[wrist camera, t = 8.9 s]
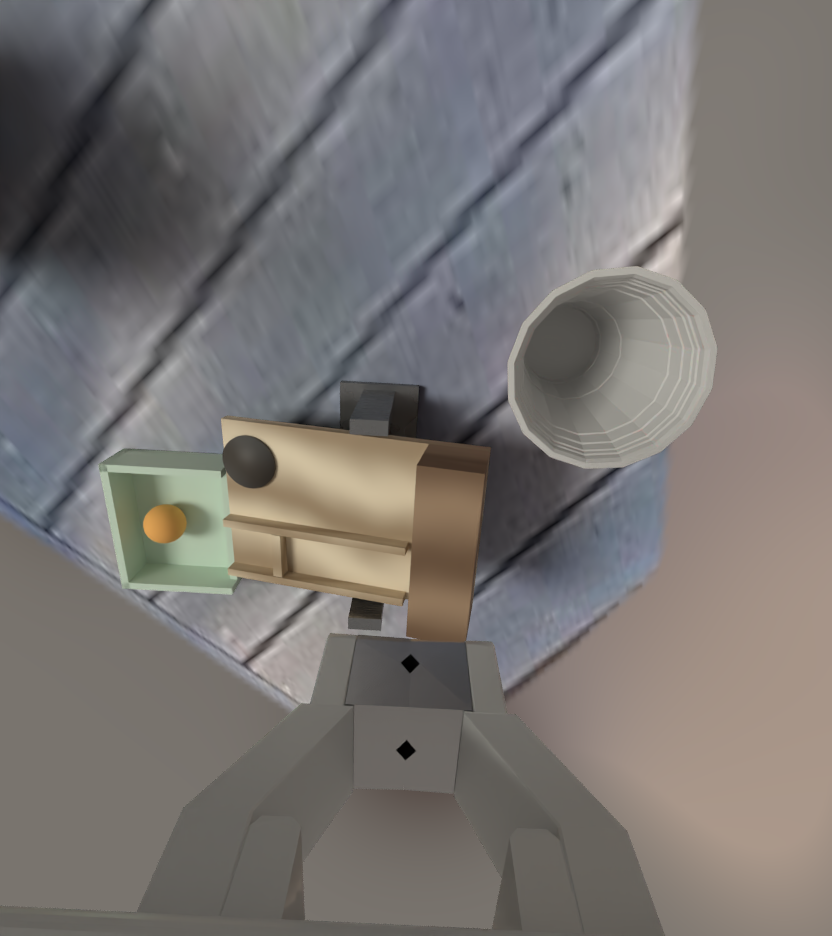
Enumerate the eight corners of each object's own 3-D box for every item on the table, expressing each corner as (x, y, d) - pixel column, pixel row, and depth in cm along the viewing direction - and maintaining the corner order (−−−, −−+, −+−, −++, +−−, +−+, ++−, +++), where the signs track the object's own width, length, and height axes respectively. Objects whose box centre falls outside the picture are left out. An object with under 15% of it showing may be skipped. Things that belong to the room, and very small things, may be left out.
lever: (227, 415, 36) (185, 435, 32) (490, 447, 33) (485, 474, 29) (240, 563, 41) (205, 598, 37) (472, 603, 38) (464, 647, 33)
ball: (152, 496, 42) (132, 514, 39) (191, 498, 42) (173, 516, 39) (157, 530, 43) (138, 549, 40) (195, 532, 43) (178, 551, 40)
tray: (123, 448, 41) (98, 464, 38) (236, 454, 41) (220, 471, 38) (144, 565, 45) (122, 588, 42) (246, 570, 45) (232, 594, 42)
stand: (341, 380, 39) (320, 410, 31) (419, 385, 39) (417, 415, 31) (341, 568, 45) (323, 632, 37) (408, 571, 45) (404, 636, 37)
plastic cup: (496, 256, 35) (530, 252, 24) (647, 274, 36) (749, 279, 25) (472, 405, 39) (492, 461, 28) (608, 421, 40) (680, 482, 29)
